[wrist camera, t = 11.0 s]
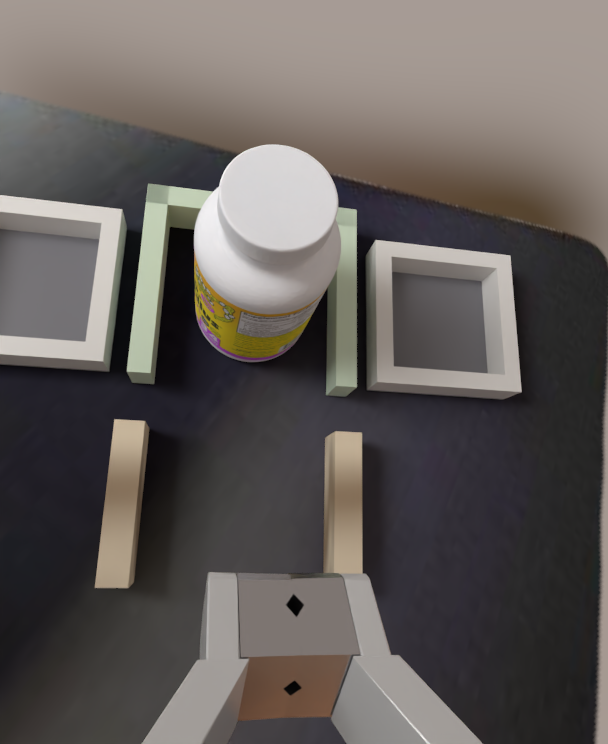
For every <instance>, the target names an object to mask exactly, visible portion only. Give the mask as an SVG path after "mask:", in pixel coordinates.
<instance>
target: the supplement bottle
mask: <svg viewBox="0 0 608 744" xmlns="http://www.w3.org/2000/svg"><path fill="white" fill-rule="evenodd" d="M337 212H338V195H337V191H336V187H335V184H334V182H333V180H332V178H331V176H330V175H329V173H328V172H327V170H326V169H325V168H324V167H323V166H322V165H321V164H320V163H319V162H318V161H317V160H316V159H314V158H313V157H312V156H310V155H309V154H307V153H305V152H303V151H301V150H298V149H296V148H293V147H290V146H284V145H262V146H258V147H255V148H251V149H249V150H247V151H244V152H243V153H241V154H240V155H238V156H237V157H235V158H234V159H233V160H232V161H231V163H230V164H229V165H228V166H227V168H226V169H225V171H224V173H223V175H222V178H221V181H220V185H219V187H218V188H217V189H216V190H215V191H214V192H213V193H212V194H211V195H210V196H209V197H208V198H207V200H206V201H205V203H204V204H203V206H202V208H201V210H200V212H199V214H198V217H197V220H196V225H195V231H194V276H195V309H196V316H197V321H198V324H199V327H200V329H201V331H202V333H203V335H204V336H205V338H206V339H207V340H208V341H209V343H210V344H211V345H212V346H213V347H214V348H216V349H217V350H218V351H219V352H221V353H223V354H224V355H226V356H228V357H230V358H233V359H236V360H239V361H244V362H261V361H266V360H270V359H273V358H276V357H278V356H280V355H282V354H283V353H285V352H286V351H287V350H289V349H290V348H291V347H292V346H293V345H294V344H295V343H296V341H297V340H298V338H299V337H300V336H301V334H302V332H303V331H304V329H305V327H306V325H307V323H308V322H309V320H310V318H311V316H312V314H313V312H314V311H315V309H316V307H317V305H318V303H319V301H320V300H321V298H322V296H323V294H324V293H325V291H326V289H327V288H328V286H329V284H330V282H331V280H332V278H333V277H334V275H335V272H336V270H337V268H338V264H339V260H340V255H341V236H340V231H339V226H338V223H337V221H336V217H337Z"/></svg>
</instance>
